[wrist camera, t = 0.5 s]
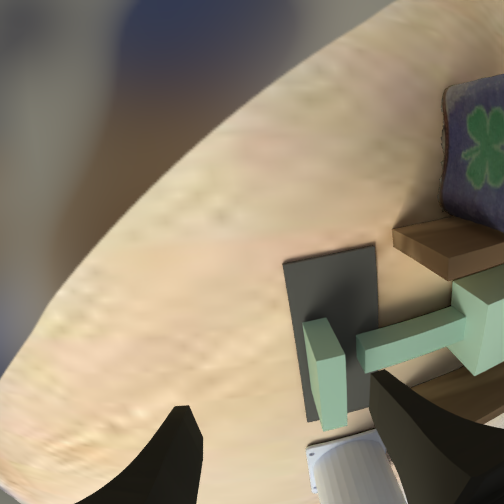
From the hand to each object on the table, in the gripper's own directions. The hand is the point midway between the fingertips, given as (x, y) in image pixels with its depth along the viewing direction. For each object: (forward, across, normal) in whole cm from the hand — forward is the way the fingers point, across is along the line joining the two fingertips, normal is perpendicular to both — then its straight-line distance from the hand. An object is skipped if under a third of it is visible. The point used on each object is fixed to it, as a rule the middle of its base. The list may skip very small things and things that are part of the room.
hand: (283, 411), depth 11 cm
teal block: (+9, -12, +4) cm, 16 cm away
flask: (+10, -15, -8) cm, 20 cm away
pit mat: (+10, -4, +4) cm, 11 cm away
